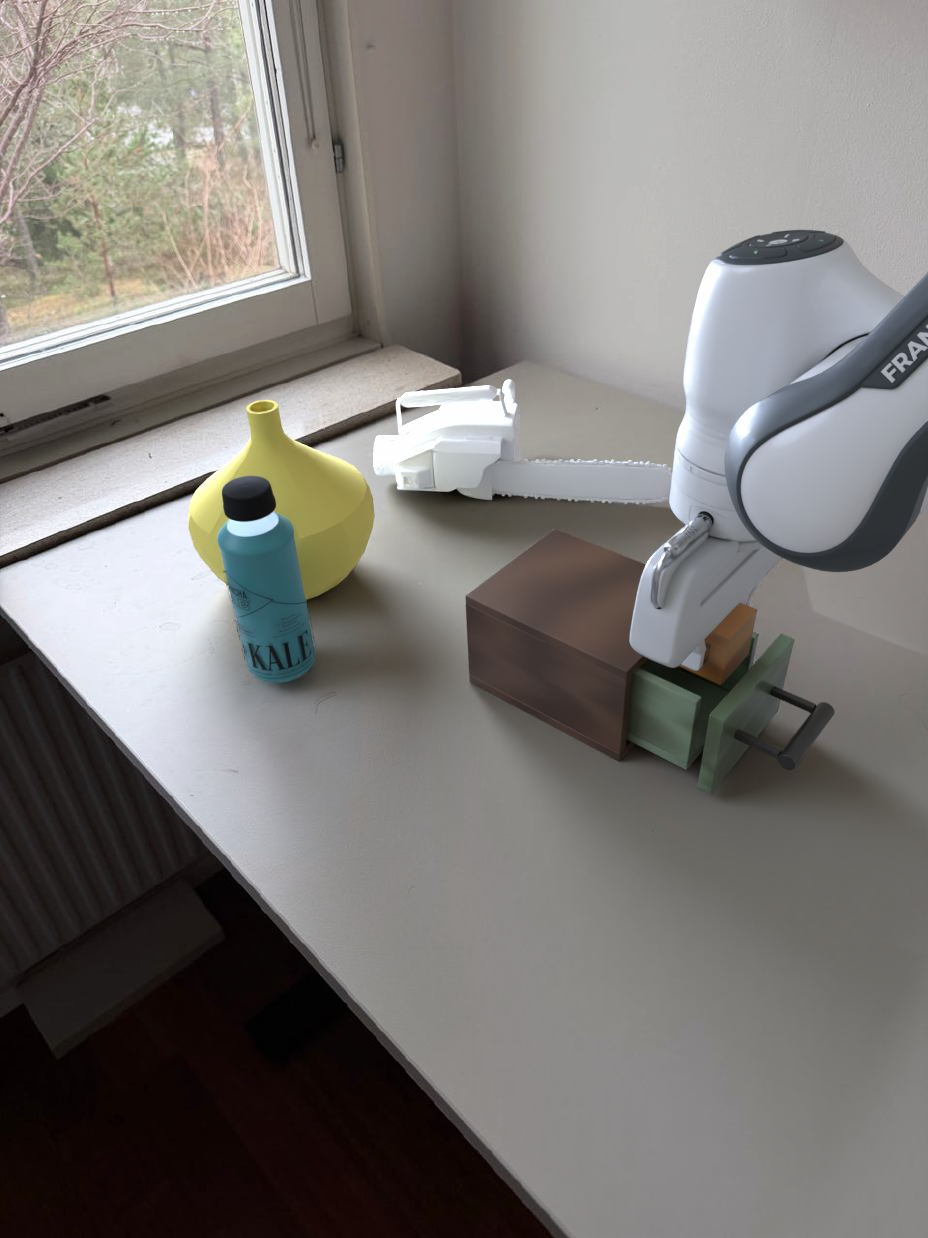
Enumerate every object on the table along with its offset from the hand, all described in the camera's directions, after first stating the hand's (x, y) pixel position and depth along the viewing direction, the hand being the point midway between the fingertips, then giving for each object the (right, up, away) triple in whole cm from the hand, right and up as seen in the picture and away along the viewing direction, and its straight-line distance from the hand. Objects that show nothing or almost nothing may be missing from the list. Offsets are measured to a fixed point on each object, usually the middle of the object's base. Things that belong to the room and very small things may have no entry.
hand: (712, 642), depth 71 cm
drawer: (0, -7, +6) cm, 9 cm away
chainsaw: (-12, +18, +40) cm, 46 cm away
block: (0, -1, +1) cm, 2 cm away
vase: (-37, +6, +27) cm, 46 cm away
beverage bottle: (-35, -3, +15) cm, 39 cm away
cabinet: (-8, -4, +12) cm, 15 cm away
